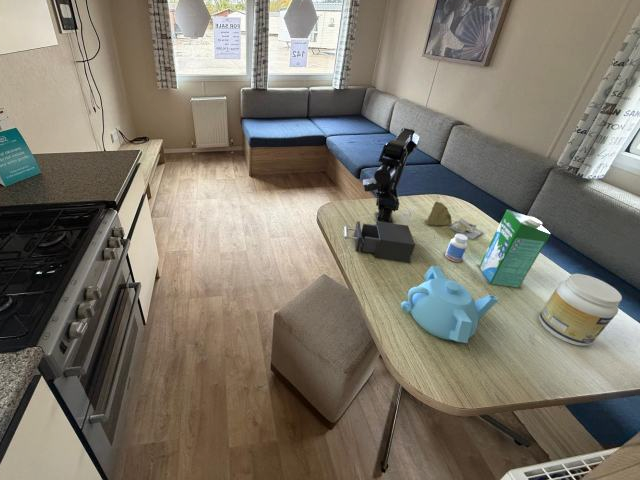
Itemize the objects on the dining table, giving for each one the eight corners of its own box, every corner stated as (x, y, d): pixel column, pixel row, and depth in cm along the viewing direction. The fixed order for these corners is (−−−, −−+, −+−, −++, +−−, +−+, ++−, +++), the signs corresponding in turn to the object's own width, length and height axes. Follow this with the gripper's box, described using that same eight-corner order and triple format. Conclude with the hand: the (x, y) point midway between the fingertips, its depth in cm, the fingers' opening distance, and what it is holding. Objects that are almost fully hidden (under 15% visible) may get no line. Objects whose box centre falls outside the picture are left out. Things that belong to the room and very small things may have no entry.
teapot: (453, 358, 82) (472, 322, 75) (390, 309, 95) (401, 276, 89) (485, 324, 91) (504, 290, 85) (423, 285, 105) (435, 253, 99)
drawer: (342, 249, 119) (345, 235, 116) (342, 232, 129) (344, 219, 126) (385, 256, 116) (389, 241, 113) (381, 238, 126) (385, 225, 123)
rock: (453, 216, 141) (430, 207, 145) (461, 208, 133) (436, 199, 137) (446, 236, 138) (422, 226, 142) (452, 230, 130) (428, 219, 134)
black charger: (375, 257, 117) (380, 239, 113) (371, 238, 128) (376, 221, 124) (409, 263, 115) (415, 244, 111) (402, 242, 126) (408, 225, 122)
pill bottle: (462, 263, 115) (471, 242, 111) (446, 259, 117) (454, 239, 112) (459, 255, 120) (468, 234, 115) (444, 251, 122) (452, 231, 117)
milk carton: (519, 288, 105) (554, 227, 93) (490, 283, 107) (521, 223, 95) (505, 270, 113) (537, 212, 101) (478, 266, 114) (506, 208, 103)
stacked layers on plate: (448, 227, 136) (452, 217, 134) (458, 222, 141) (462, 211, 138) (472, 239, 129) (477, 228, 126) (482, 233, 133) (487, 222, 131)
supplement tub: (585, 356, 83) (623, 312, 75) (531, 324, 92) (559, 282, 84) (595, 333, 90) (631, 291, 82) (544, 306, 98) (571, 265, 90)
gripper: (364, 163, 127) (357, 196, 135) (368, 182, 111) (360, 218, 119) (392, 166, 125) (384, 199, 133) (401, 186, 109) (391, 223, 117)
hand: (379, 209), depth 125 cm, fingers closed
